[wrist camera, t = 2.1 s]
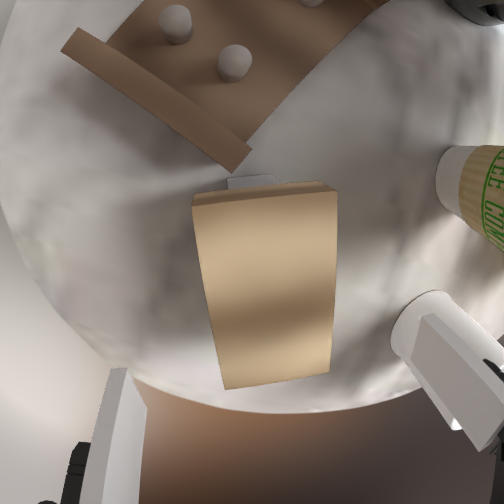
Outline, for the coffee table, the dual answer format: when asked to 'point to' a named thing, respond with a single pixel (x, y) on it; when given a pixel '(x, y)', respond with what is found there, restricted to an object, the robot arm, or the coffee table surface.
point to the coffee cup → (474, 188)
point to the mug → (457, 322)
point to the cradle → (217, 61)
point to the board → (269, 279)
